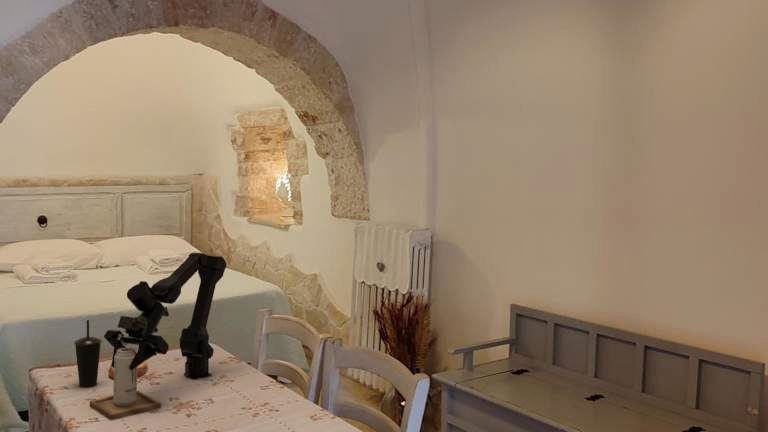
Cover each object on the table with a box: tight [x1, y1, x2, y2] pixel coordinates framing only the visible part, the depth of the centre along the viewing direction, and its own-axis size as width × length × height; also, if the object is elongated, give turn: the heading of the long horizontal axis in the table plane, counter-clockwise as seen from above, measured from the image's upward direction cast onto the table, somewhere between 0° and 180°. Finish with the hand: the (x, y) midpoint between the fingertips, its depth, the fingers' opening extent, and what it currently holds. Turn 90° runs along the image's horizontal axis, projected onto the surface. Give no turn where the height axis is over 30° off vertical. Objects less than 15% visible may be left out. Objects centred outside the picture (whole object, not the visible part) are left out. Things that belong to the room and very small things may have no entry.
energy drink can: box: [112, 347, 138, 406], centre depth 193 cm, size 6×6×15 cm
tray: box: [89, 390, 162, 421], centre depth 193 cm, size 14×14×2 cm
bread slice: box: [107, 361, 148, 379], centre depth 228 cm, size 18×18×4 cm
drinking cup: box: [73, 319, 102, 389], centre depth 211 cm, size 8×8×20 cm
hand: (121, 368), depth 191 cm, fingers open, 6 cm apart
